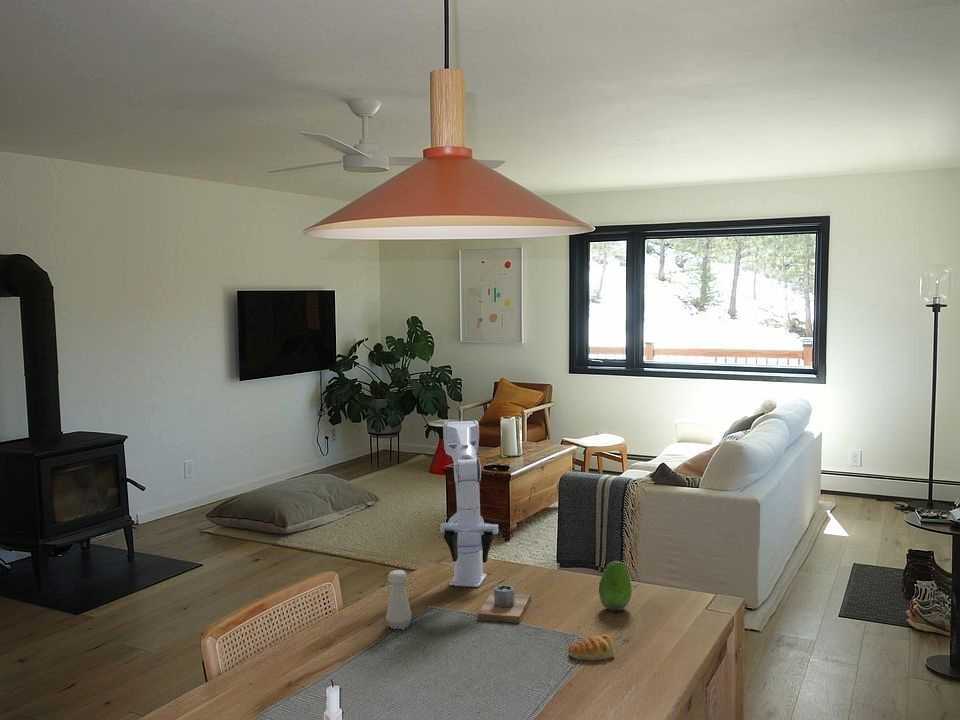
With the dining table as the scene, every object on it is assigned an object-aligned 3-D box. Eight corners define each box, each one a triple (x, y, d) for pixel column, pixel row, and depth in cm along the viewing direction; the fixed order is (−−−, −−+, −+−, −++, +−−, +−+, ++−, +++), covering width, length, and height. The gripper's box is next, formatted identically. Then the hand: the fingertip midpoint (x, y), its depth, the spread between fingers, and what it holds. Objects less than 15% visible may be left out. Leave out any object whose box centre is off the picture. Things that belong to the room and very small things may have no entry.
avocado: (636, 614, 193) (635, 564, 193) (604, 617, 192) (603, 566, 192) (625, 602, 201) (625, 554, 201) (594, 604, 200) (593, 556, 199)
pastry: (575, 665, 168) (574, 647, 168) (563, 652, 175) (563, 634, 174) (617, 658, 171) (617, 640, 170) (604, 646, 177) (603, 628, 177)
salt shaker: (410, 631, 187) (408, 575, 186) (385, 631, 187) (383, 576, 186) (412, 621, 193) (411, 567, 192) (388, 621, 193) (386, 567, 192)
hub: (497, 600, 201) (497, 584, 201) (516, 601, 200) (515, 585, 199) (493, 607, 196) (492, 590, 196) (512, 608, 195) (511, 592, 195)
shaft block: (491, 598, 206) (490, 579, 206) (530, 601, 204) (530, 581, 204) (477, 619, 193) (477, 599, 192) (519, 622, 190) (519, 601, 190)
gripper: (435, 509, 202) (437, 564, 203) (493, 511, 199) (494, 566, 200) (444, 503, 209) (445, 556, 210) (499, 505, 206) (501, 558, 206)
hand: (470, 561), depth 205 cm, fingers open, 7 cm apart
